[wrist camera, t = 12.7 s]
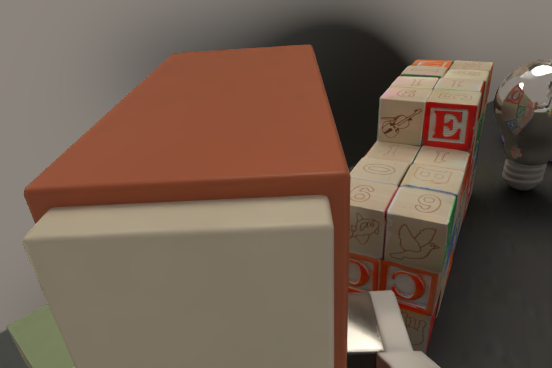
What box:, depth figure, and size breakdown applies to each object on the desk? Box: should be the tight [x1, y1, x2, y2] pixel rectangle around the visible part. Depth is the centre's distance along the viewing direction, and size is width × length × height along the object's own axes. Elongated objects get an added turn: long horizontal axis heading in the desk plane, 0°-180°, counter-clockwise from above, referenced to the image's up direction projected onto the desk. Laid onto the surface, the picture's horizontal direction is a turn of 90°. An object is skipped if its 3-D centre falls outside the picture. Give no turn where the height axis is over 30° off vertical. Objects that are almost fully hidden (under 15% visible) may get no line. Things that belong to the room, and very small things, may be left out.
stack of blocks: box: [348, 60, 493, 354], centre depth 31 cm, size 21×6×12 cm, turn 152°
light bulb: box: [494, 60, 552, 192], centre depth 38 cm, size 7×7×12 cm
